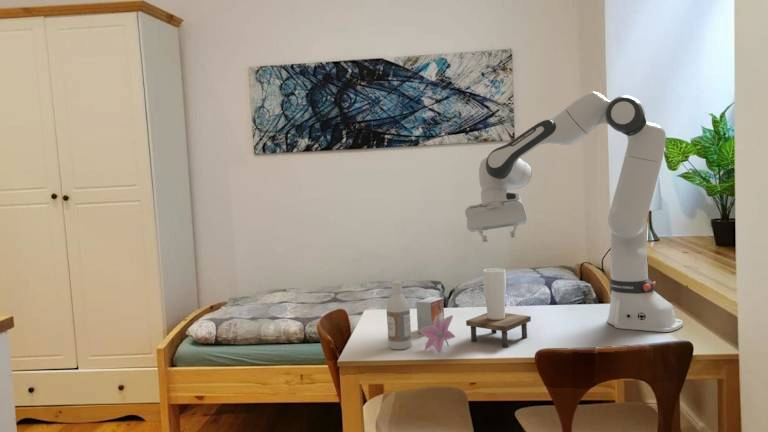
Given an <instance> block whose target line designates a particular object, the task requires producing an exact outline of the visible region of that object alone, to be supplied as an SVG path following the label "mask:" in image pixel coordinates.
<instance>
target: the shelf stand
mask: <svg viewBox="0 0 768 432" xmlns="http://www.w3.org/2000/svg"><path fill="white" fill-rule="evenodd" d="M531 318H532V317H531V315H524V314H517V313H516V314H515V313H508V312H505V318H504V319H502V320H490V319H488V317H487V312H486V313H483V314H480V315H478V316H475V317H473V318H470V319H467V320H466V321H465V322H466V323H465V324H466V327H470V337H471V338H470V340H471V342H472V343H476V342H478V341H477V339H478V338H477V328H479V329H480V328H481V329H486V330H490V331H491V334H497V333H498V332H497V331H499V332H501V347H502V348H508V346H509V343H508V331H511V330H514V329H515V328H518V327H520V326H521V329H520V330H521V338H522V339H528V324H527V323H530V322H531V321H532V319H531Z"/></svg>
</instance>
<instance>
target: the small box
mask: <svg viewBox="0 0 768 432" xmlns="http://www.w3.org/2000/svg"><path fill="white" fill-rule="evenodd" d="M415 303H416V316H417V317H416V318H417V320H416V321H417V333H418V334H422V333H421V332H420V329H422V328H424V327H427V326H433V323H434V319H435V317H436V315H437V316H438V317H439V319H440V321H442V320H444V319H445V309H444V308H445V307H444V298H443V297H434V296H429V297H427V298H424V299H421V300H417V301H416V302H415Z"/></svg>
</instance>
